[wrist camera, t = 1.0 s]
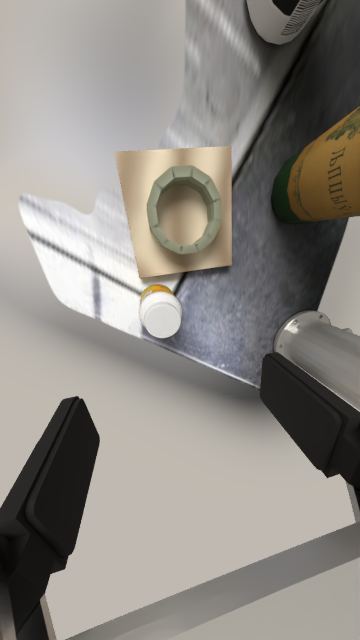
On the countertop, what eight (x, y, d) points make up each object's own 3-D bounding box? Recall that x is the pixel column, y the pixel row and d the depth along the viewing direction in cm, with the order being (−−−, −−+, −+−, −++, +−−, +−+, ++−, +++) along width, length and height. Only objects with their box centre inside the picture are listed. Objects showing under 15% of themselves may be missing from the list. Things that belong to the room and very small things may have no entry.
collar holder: (226, 152, 22) (241, 133, 19) (227, 264, 28) (239, 266, 24) (116, 158, 21) (110, 138, 17) (139, 276, 26) (139, 280, 22)
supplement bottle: (180, 298, 28) (197, 318, 19) (159, 322, 29) (165, 352, 20) (155, 275, 26) (160, 287, 17) (133, 302, 27) (127, 325, 18)
